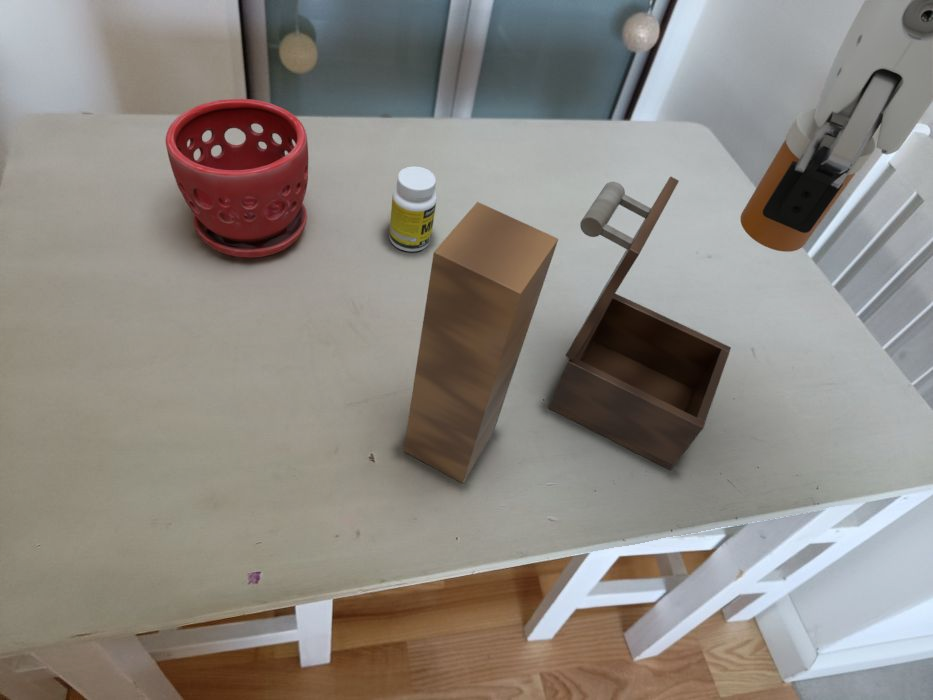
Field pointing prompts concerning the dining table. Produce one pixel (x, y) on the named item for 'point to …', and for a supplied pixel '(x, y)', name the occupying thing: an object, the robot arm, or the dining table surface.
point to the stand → (473, 335)
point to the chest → (642, 381)
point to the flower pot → (242, 175)
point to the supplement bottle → (413, 209)
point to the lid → (597, 225)
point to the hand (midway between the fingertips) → (793, 197)
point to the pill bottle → (791, 150)
